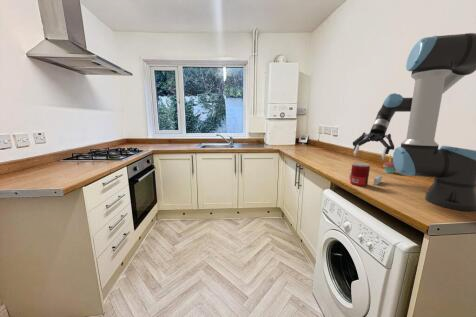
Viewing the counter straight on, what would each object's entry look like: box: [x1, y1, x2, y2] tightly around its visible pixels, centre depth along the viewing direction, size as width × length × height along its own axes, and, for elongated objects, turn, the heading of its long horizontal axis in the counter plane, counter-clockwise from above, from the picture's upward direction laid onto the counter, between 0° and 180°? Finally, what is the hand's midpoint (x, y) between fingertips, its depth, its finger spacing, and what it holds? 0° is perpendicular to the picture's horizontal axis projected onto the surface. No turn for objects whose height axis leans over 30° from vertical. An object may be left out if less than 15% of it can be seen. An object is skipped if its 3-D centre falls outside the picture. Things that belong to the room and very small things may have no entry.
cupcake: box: [382, 154, 397, 174], centre depth 132 cm, size 9×8×12 cm
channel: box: [349, 172, 383, 186], centre depth 114 cm, size 9×13×4 cm
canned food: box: [349, 162, 371, 187], centre depth 106 cm, size 8×8×11 cm
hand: (367, 156), depth 112 cm, fingers open, 13 cm apart
